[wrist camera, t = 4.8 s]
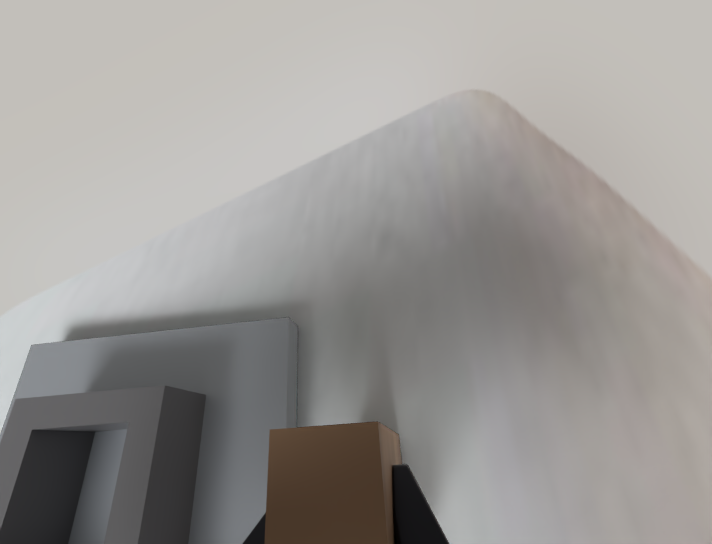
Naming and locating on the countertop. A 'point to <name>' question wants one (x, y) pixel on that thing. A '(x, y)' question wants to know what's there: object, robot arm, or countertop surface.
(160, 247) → the countertop surface
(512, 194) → the countertop surface
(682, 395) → the countertop surface
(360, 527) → the walnut block
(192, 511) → the grey socket base
